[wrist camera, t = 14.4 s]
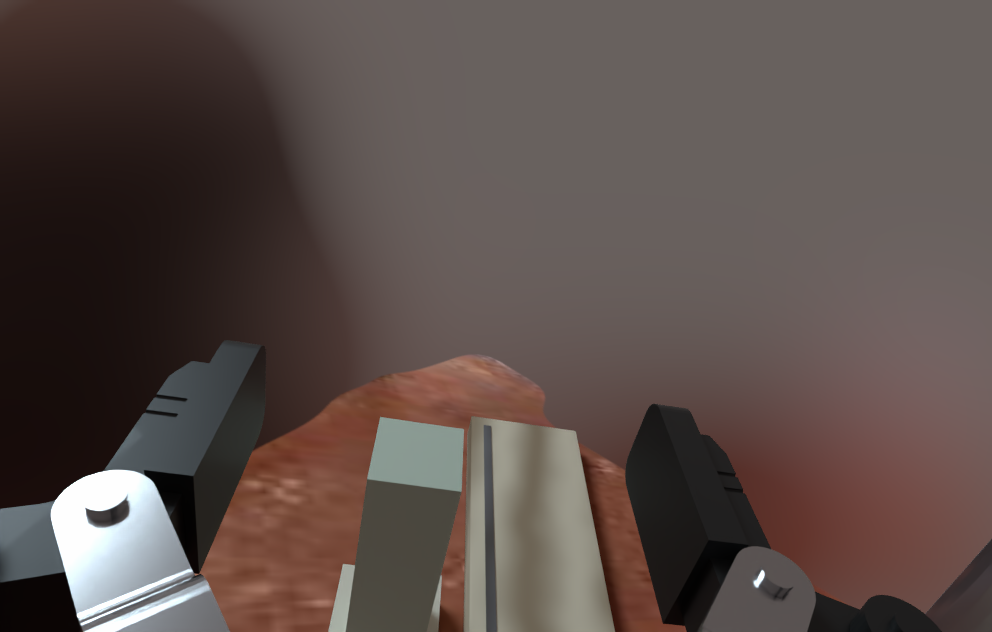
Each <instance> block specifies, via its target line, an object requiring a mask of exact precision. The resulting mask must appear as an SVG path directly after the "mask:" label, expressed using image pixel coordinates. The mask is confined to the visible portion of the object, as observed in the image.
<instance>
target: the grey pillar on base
mask: <svg viewBox="0 0 992 632" xmlns="http://www.w3.org/2000/svg"><path fill="white" fill-rule="evenodd" d="M463 437H464V429H458V428H452V427H445V426H438V425H431V424H424V423H417V422H410V421H403V420H397V419H390V418H383V417H380V421H379V426H378V431H377V435H376V440H375V445H374V450H373V454H372V459H371V464H370V469H369V473H368V478H367V484H366V492H365V499H364V506H363V513H362V520H361V527H360V534H359V541H358V548H357V555H356V562H355V565H347V564H343V568H342V572H341V577H340V581H339V586H338V590H337V595H336V599H335V604H334V609H333V613H332V618H331V622H330V627H329V631H328V632H438V627H439V612H440V596H441V580H442V576H441V572H442V568H443V564H444V560H445V556H446V552H447V548H448V544H449V540H450V536H451V532H452V528H453V524H454V519H455V515H456V511H457V507H458V503H459V499H460V495H461V489H462V463H463Z"/></svg>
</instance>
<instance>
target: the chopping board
mask: <svg viewBox="0 0 992 632" xmlns="http://www.w3.org/2000/svg"><path fill="white" fill-rule="evenodd" d="M464 632H615V629H614V624H613V619H612V614H611V609H610V604H609V599H608V594H607V588H606V583H605V578H604V573H603V568H602V563H601V558H600V553H599V548H598V543H597V538H596V532H595V527H594V522H593V517H592V512H591V507H590V502H589V497H588V492H587V487H586V482H585V476H584V471H583V466H582V461H581V456H580V451H579V446H578V441H577V436H576V431H571V430H564V429H557V428H550V427H543V426H536V425H529V424H522V423H515V422H508V421H501V420H494V419H487V418H480V417H473V416H472V417H471V421H470V426H469V430H468V434H467V482H466V533H465V584H464Z"/></svg>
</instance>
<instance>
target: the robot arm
mask: <svg viewBox="0 0 992 632" xmlns="http://www.w3.org/2000/svg"><path fill="white" fill-rule="evenodd" d="M265 384H266V349H265V346H262V345H256V344H249V343H242V342H236V341H229V340H225V341H224V342H223V343H222V344H221V346H220V347H219V349H218V350H217V352H216V354H215V355H214V357H213V359H212V360H211V362H210V363H209V364H207V363H201V362H193V361H191V362H190V363H189V364H187V365H185V366H184V367H182V368H181V369H179V370H178V371H176V372H175V373H173V374H171V375H170V376H169V377H168V379H167V380H166V382H165V383H164V385H163V386H162V388H161V389H160V390H159V392H158V393H157V397H156V398H154V399H153V401H152V402H151V403H150V405H149V406H148V408H147V409H146V413H145V414H143V415H142V416H141V418H140V419H139V421H138V422H137V424H136V425H135V427H134V428H133V430H132V431H131V432H130V434H129V435H128V437H127V438H126V440H125V441H124V443H123V444H122V445H121V447H120V448H119V450H118V451H117V453H116V454H115V456H114V457H113V458H112V460H111V461H110V463H109V464H108V466H107V467H106V469H105V470H104V471H103V472H100V473H96V474H93V475H90V476H87V477H85V478H83V479H81V480H79V481H77V482H75V483H74V484H72V485H71V486H70V487H68V488H67V489H66V490H65V491H64V492H63V493H62V494H61V495H60V496H59V497H58V499H57V500H56V501H53V502H48V503H43V504H37V505H29V506H21V507H13V508H5V509H0V632H230V631H229V629H228V627H227V624H226V622H225V620H224V618H223V615H222V613H221V611H220V609H219V606H218V604H217V602H216V600H215V598H214V595H213V593H212V591H211V589H210V587H209V584H208V583H207V581H206V579H205V578H204V576H203V575H201V574H199V573H200V571H201V568H202V566H203V564H204V561H205V559H206V557H207V554H208V552H209V550H210V548H211V545H212V543H213V541H214V538H215V536H216V534H217V531H218V529H219V527H220V524H221V522H222V520H223V517H224V515H225V513H226V511H227V508H228V506H229V504H230V501H231V499H232V497H233V494H234V492H235V490H236V487H237V485H238V483H239V480H240V478H241V476H242V474H243V471H244V469H245V467H246V464H247V462H248V460H249V457H250V455H251V453H252V450H253V448H254V446H255V443H256V441H257V439H258V436H259V433H260V430H261V427H262V423H263V418H264V412H265ZM735 474H736V473H735V471H734V469H733V467H732V465H731V463H730V461H729V459H728V456H727V454H726V453H725V452H724V451H723V450H722V449H721V448H720V447H719V446H718V445H717V444H716V442H715V441H714V440H713V439H712V438H711V437H710V436H708V435H701V434H700V432H699V430H698V428H697V426H696V423H695V421H694V419H693V416H692V414H691V412H690V411H689V410H688V409H685V408H679V407H672V406H665V405H658V404H652V405H651V406H650V407H649V408H648V410H647V412H646V414H645V417H644V419H643V422H642V424H641V427H640V429H639V431H638V434H637V436H636V439H635V441H634V443H633V446H632V448H631V451H630V453H629V456H628V459H627V464H626V472H625V477H626V486H627V490H628V494H629V497H630V501H631V505H632V509H633V512H634V516H635V520H636V524H637V527H638V531H639V535H640V539H641V542H642V546H643V550H644V554H645V558H646V561H647V565H648V569H649V573H650V576H651V580H652V584H653V588H654V591H655V595H656V599H657V603H658V606H659V610H660V614H661V618H662V622H663V624H673V625H682V626H685V627H686V631H687V632H992V539H991V540H990V541H989V543H988V544H987V545H986V546H985V547H984V548H983V549H982V550H981V552H980V553H979V554H978V555H977V556H976V557H975V558H974V560H973V561H972V562H971V563H970V564H969V565H968V566H967V568H965V570H964V571H963V572H962V573H961V574H960V575H959V576H958V577H957V579H956V580H955V581H954V582H953V583H952V584H951V585H950V587H949V588H948V589H947V590H946V591H945V592H944V593H943V594H942V596H941V597H940V598H939V599H938V600H937V601H936V602H935V603H934V605H933V606H932V607H931V608H930V609H929V610H928V611H927V612H926V614H924V613H923V612H921V611H920V610H918V609H917V608H916V607H914V606H912V605H911V604H909V603H907V602H905V601H903V600H901V599H898V598H895V597H892V596H886V595H877V596H874V597H871V598H870V599H868V601H867V602H866V603H865V604H864V606H863V607H862V608H861V609H860V610H859V609H857V608H854V607H852V606H849V605H847V604H844V603H841V602H839V601H836V600H834V599H831V598H829V597H826V596H824V595H821V594H819V593H817V592H815V591H814V588H813V586H812V584H811V582H810V580H809V579H808V577H807V576H806V574H805V573H804V572H803V571H802V570H801V569H800V568H799V567H798V566H797V565H796V564H795V563H794V562H792V561H791V560H790V559H788V558H787V557H785V556H784V555H782V554H780V553H778V552H776V551H774V550H771V548H770V546H769V544H768V541H767V539H766V537H765V535H764V533H763V531H762V528H761V527H760V524H759V522H758V520H757V518H756V516H755V514H754V512H753V510H752V507H751V505H750V503H749V501H748V499H747V497H746V495H745V494H744V493H743V488H742V486H741V484H740V482H739V480H738V478H737V477H735ZM194 573H196V574H199V575H197V576H195V574H194Z"/></svg>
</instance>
